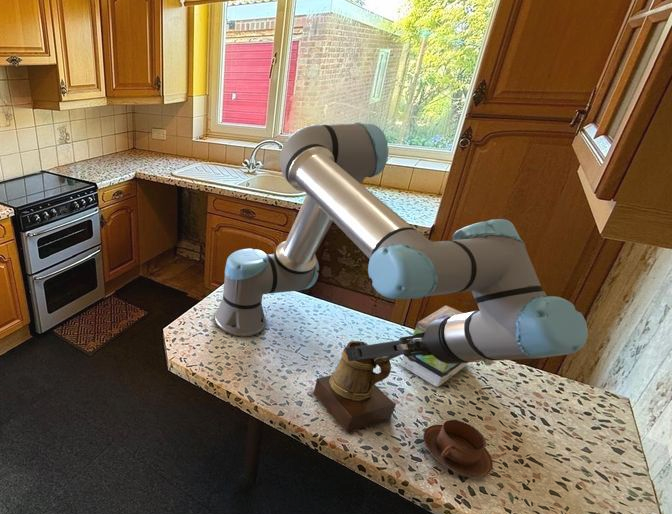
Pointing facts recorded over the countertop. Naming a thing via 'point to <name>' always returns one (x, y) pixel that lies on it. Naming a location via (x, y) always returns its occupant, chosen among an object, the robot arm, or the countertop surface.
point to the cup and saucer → (459, 448)
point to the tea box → (429, 364)
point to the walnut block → (354, 406)
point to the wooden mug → (358, 375)
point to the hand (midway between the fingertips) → (377, 350)
